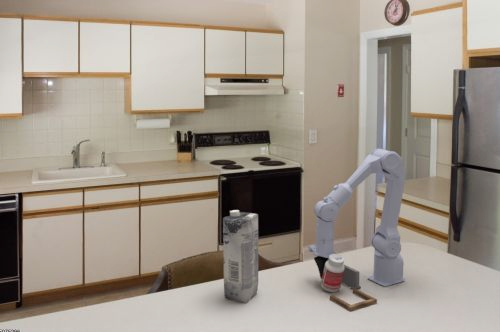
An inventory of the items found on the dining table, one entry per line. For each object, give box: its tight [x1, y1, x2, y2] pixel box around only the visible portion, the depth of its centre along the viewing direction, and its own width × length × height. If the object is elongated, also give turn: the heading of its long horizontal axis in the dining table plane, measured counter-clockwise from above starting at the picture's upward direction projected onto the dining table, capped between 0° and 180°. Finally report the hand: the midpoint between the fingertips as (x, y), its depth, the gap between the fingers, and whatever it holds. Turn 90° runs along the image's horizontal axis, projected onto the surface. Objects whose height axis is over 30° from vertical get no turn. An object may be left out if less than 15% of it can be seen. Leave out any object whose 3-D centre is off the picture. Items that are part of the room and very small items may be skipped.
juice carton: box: [222, 209, 259, 304], centre depth 143 cm, size 9×10×27 cm
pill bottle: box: [320, 253, 345, 293], centre depth 147 cm, size 6×6×11 cm
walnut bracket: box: [329, 289, 378, 312], centre depth 141 cm, size 10×9×1 cm
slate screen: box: [341, 263, 362, 291], centre depth 155 cm, size 3×14×6 cm, turn 30°
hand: (324, 278), depth 152 cm, fingers closed
